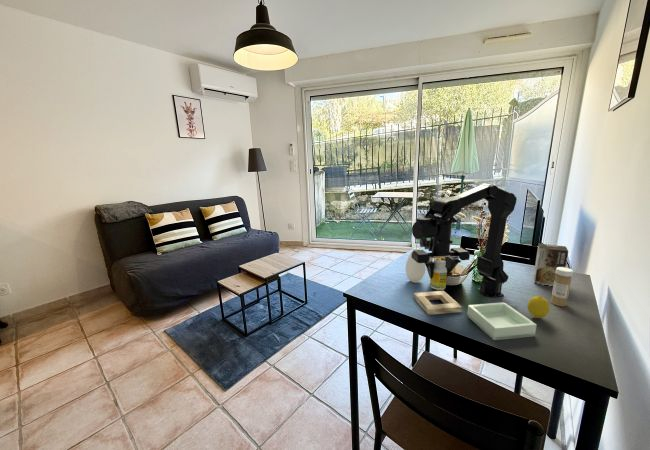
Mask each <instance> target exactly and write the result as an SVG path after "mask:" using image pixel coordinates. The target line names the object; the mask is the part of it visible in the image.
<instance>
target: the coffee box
mask: <svg viewBox="0 0 650 450" xmlns="http://www.w3.org/2000/svg"><path fill="white" fill-rule="evenodd" d="M568 255H569V250H568V248H567V246H565V245H555V244H545V243H538V245H537V251H536V258H535V265H534V270H533V277H532V280H533V279H534V281H533V284H534V283H538V284H543V285H542V286H544V285H551V286H554V280H555V276H556V268H557V267H565V268H567V260H568ZM538 284H537V285H538Z"/></svg>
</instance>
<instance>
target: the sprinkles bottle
mask: <svg viewBox="0 0 650 450" xmlns="http://www.w3.org/2000/svg"><path fill="white" fill-rule="evenodd" d="M573 274H574V270H573V269H571V268H569V267H557V268H556V276H555V280H554V286H553V287H552V290H551V292H552V293H551V299H550V303H551V304H552V305H554V306H557V307H566V306H567V305H568V304H567V302H568V298H569V293H570V286H571V281H572V277H573V276H574V275H573Z"/></svg>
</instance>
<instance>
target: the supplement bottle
mask: <svg viewBox="0 0 650 450" xmlns="http://www.w3.org/2000/svg"><path fill="white" fill-rule="evenodd" d="M433 262H434V263H435V265H434V272H433V277H432V279H431V278H430V277H429V279H430V280H429V286H430V288H432V289H434V290H436V291H444V290H445V289H446V287H447V278H448V277H447V269H446V267H445V266H446V260H441V259H436V260H433Z"/></svg>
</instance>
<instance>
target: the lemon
mask: <svg viewBox="0 0 650 450" xmlns="http://www.w3.org/2000/svg"><path fill="white" fill-rule="evenodd" d="M527 310H528V312H529V314H530V315H532V316H533V317H534V318H535V319H539V318H540V319H541V318H542V319H543V318H545V317H547V315H548V314H549V312H550V304H549V302H548V300H547V299H546V298H545V297H542V296H541V295H535V296H533V297H531V298H530V299H529V301H528V304H527Z"/></svg>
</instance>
